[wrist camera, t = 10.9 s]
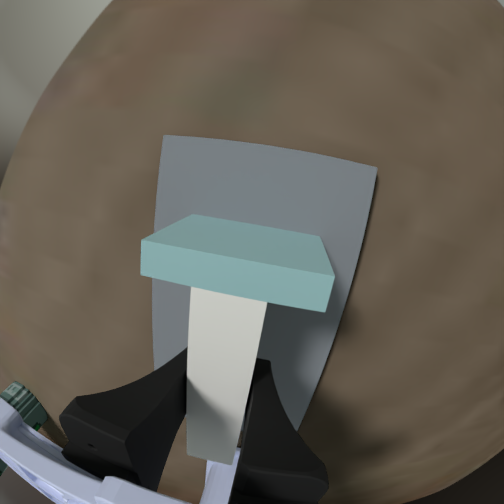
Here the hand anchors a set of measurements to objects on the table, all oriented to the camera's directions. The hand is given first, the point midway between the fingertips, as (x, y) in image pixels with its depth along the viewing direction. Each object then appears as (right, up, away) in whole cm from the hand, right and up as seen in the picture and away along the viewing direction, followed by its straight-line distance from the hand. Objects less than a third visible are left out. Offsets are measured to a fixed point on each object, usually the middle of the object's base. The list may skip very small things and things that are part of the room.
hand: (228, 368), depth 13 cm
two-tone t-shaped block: (0, +1, +2) cm, 3 cm away
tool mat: (+1, +2, +3) cm, 3 cm away
